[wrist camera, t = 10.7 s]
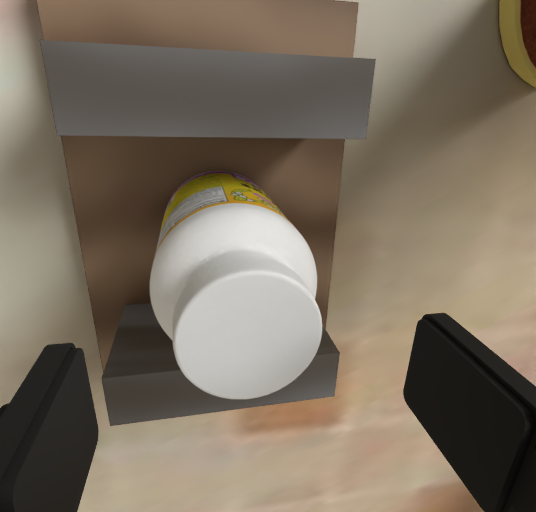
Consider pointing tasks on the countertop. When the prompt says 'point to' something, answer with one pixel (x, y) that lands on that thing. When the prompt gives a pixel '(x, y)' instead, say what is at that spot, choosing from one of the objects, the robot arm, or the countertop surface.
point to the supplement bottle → (234, 288)
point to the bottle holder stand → (196, 155)
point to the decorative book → (519, 36)
